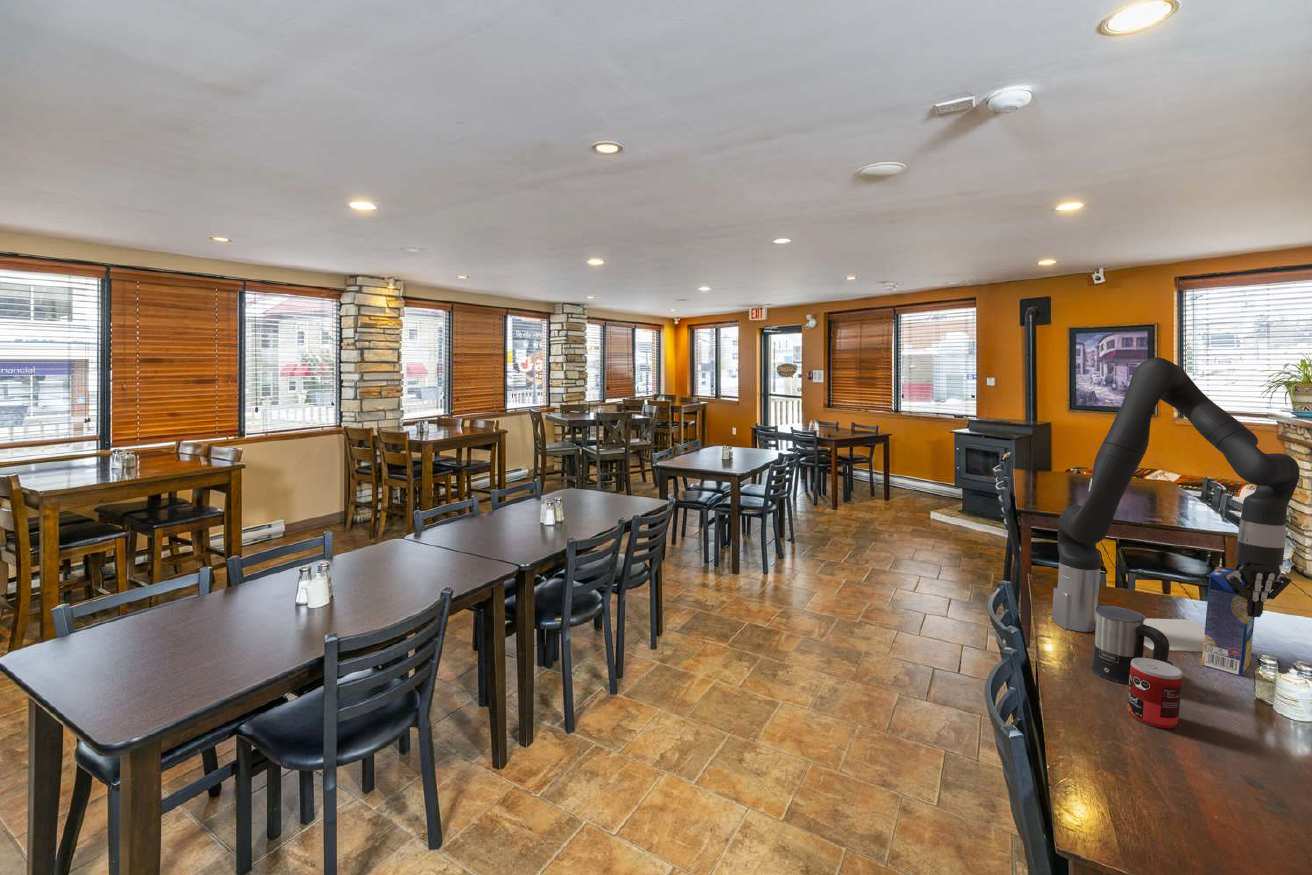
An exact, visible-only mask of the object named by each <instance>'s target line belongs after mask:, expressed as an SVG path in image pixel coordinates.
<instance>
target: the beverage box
mask: <svg viewBox="0 0 1312 875" xmlns="http://www.w3.org/2000/svg"><path fill="white" fill-rule="evenodd" d="M1234 571H1235V568H1230V567H1224V566H1218V567H1217V568H1216V569H1215V570H1213V571H1212V572H1211V573H1210V574H1209V582H1208V591H1207V592H1208V593H1207V601H1206V602H1207V604H1206V614H1205V625H1204V628H1205V635H1204V646H1203V652H1202V657H1201V658H1202V660H1201V665H1202V666H1206V667H1209V668H1213V669H1216V670H1220V671H1223V672H1227V673H1232V674H1234V675H1238V676H1242V675H1243V674H1244V673H1245V671H1246V670H1247V668H1248V666H1250V664H1251V660H1252V659H1251V657H1252V653H1251V651H1252V650H1253V649H1252V648H1253V647H1252V646H1253V637H1254V628H1255V627H1254V626H1255V618H1256V617H1251V616H1249V615H1248V612H1247V611H1248V609H1247V607H1248V606H1247V604H1249V602H1248V601H1247V599H1246V598H1244V597H1241V596H1239V595H1237V594H1235V592H1234V591H1233V590H1232V588H1231V587H1230V585H1229V584H1228V583H1227V581H1226V580H1225V579H1224V577H1223V575H1224V574H1231V573H1233V572H1234ZM1241 583H1242V584H1243V586H1244V587H1245V589H1246V590H1247V591H1248V593H1249V594H1250V590H1248V589H1247V586H1250V585H1248V584H1245V583H1244V582H1243V581H1242V582H1241Z"/></svg>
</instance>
